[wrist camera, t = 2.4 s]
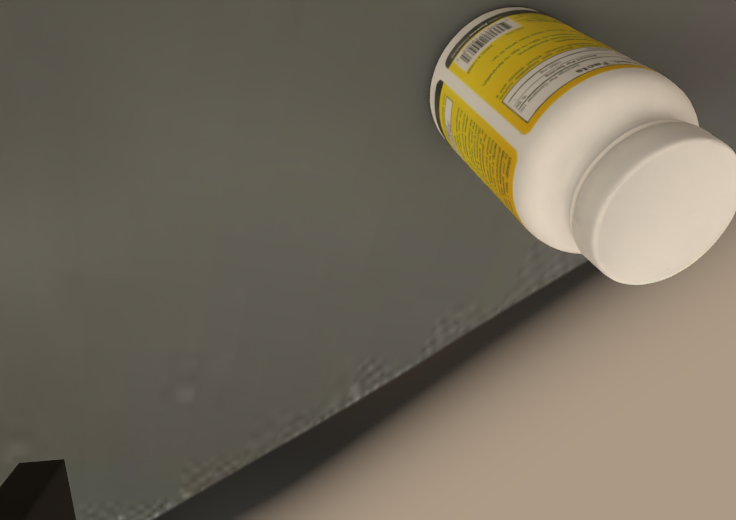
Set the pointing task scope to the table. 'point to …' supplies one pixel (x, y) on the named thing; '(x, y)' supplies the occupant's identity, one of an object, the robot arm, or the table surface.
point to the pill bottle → (584, 144)
